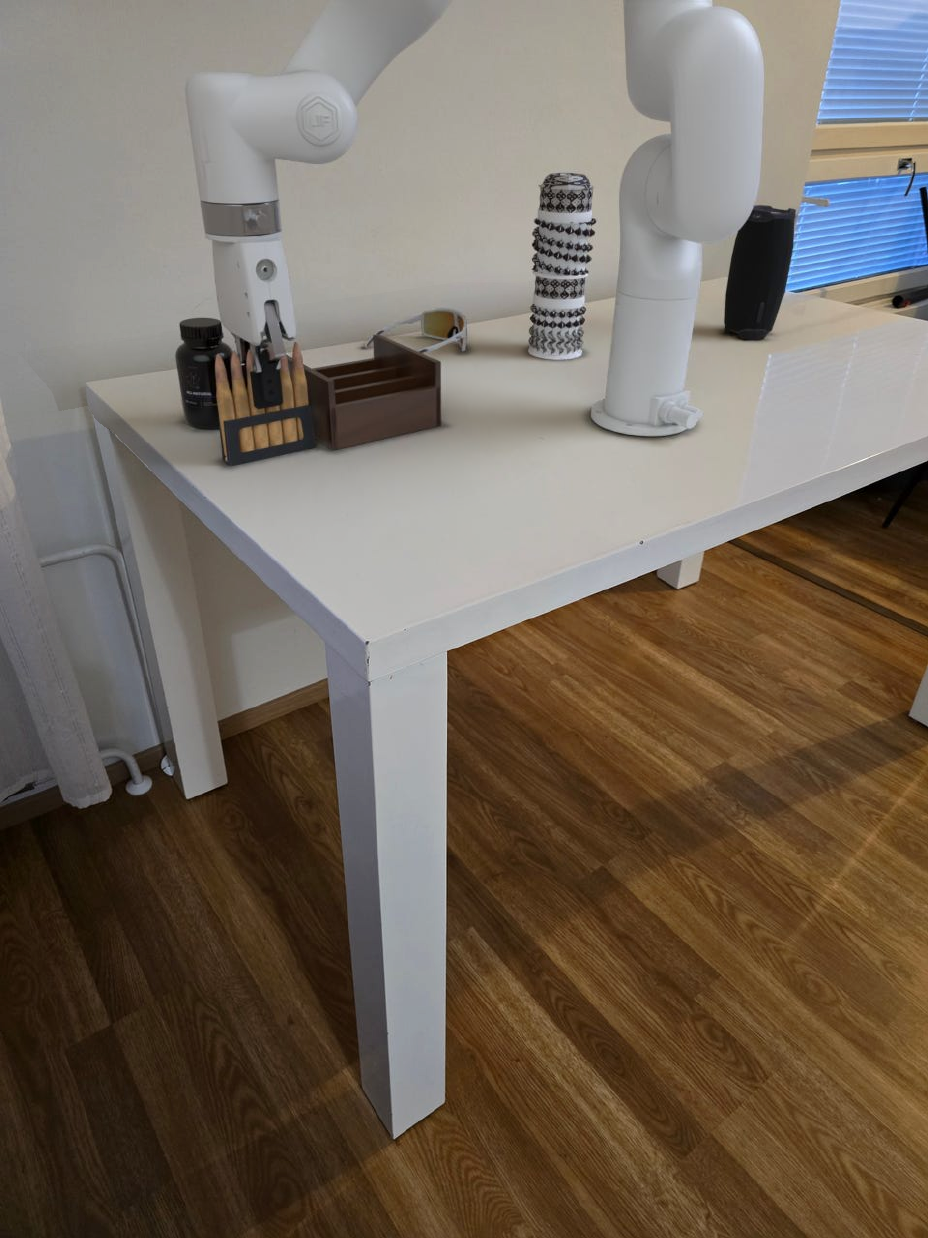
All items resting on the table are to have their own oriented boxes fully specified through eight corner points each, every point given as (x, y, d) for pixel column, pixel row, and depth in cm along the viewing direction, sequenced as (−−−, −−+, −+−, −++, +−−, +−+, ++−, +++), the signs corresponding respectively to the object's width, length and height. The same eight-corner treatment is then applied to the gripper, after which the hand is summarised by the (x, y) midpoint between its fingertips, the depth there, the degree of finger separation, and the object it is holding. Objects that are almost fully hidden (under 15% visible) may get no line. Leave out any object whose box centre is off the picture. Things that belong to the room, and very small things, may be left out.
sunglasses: (486, 351, 133) (483, 319, 130) (405, 379, 127) (400, 347, 124) (437, 331, 143) (433, 301, 140) (360, 357, 137) (354, 326, 134)
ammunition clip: (228, 466, 93) (212, 357, 87) (222, 461, 95) (206, 352, 88) (316, 447, 99) (307, 342, 92) (309, 442, 100) (299, 338, 93)
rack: (441, 425, 105) (441, 361, 101) (333, 450, 98) (327, 381, 93) (380, 393, 115) (378, 333, 111) (278, 413, 108) (271, 350, 104)
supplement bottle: (192, 433, 102) (175, 331, 95) (180, 416, 107) (163, 318, 100) (248, 425, 104) (235, 325, 98) (234, 408, 109) (221, 312, 103)
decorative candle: (587, 360, 130) (604, 178, 116) (527, 359, 130) (537, 176, 116) (581, 344, 137) (596, 171, 124) (524, 343, 137) (533, 170, 124)
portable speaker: (720, 326, 149) (742, 203, 138) (776, 331, 146) (802, 206, 136) (716, 337, 142) (738, 209, 132) (774, 343, 140) (801, 212, 129)
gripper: (312, 228, 80) (327, 417, 90) (246, 208, 91) (266, 379, 101) (237, 234, 76) (261, 430, 86) (177, 213, 87) (205, 389, 97)
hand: (263, 401), depth 93 cm, fingers closed
